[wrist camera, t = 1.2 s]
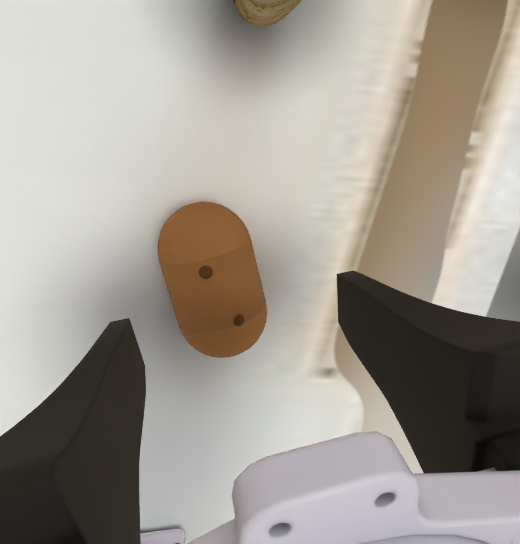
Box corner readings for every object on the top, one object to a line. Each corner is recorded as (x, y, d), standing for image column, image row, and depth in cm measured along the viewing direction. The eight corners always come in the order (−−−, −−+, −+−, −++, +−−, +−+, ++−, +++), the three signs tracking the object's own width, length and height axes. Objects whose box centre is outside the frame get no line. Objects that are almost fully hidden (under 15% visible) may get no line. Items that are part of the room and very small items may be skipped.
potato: (261, 324, 26) (288, 355, 21) (186, 349, 25) (198, 388, 20) (228, 190, 24) (251, 193, 19) (144, 212, 23) (146, 220, 18)
